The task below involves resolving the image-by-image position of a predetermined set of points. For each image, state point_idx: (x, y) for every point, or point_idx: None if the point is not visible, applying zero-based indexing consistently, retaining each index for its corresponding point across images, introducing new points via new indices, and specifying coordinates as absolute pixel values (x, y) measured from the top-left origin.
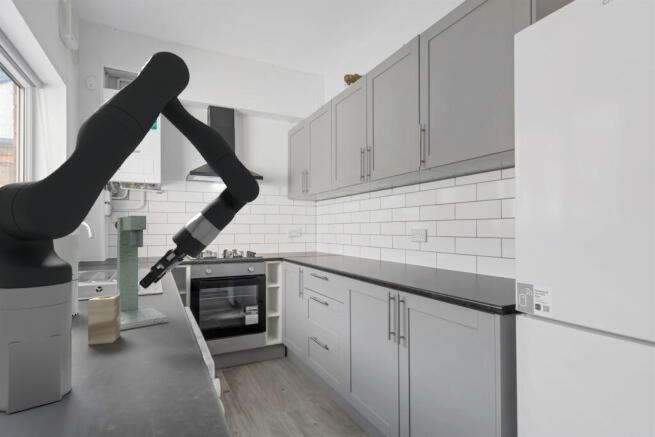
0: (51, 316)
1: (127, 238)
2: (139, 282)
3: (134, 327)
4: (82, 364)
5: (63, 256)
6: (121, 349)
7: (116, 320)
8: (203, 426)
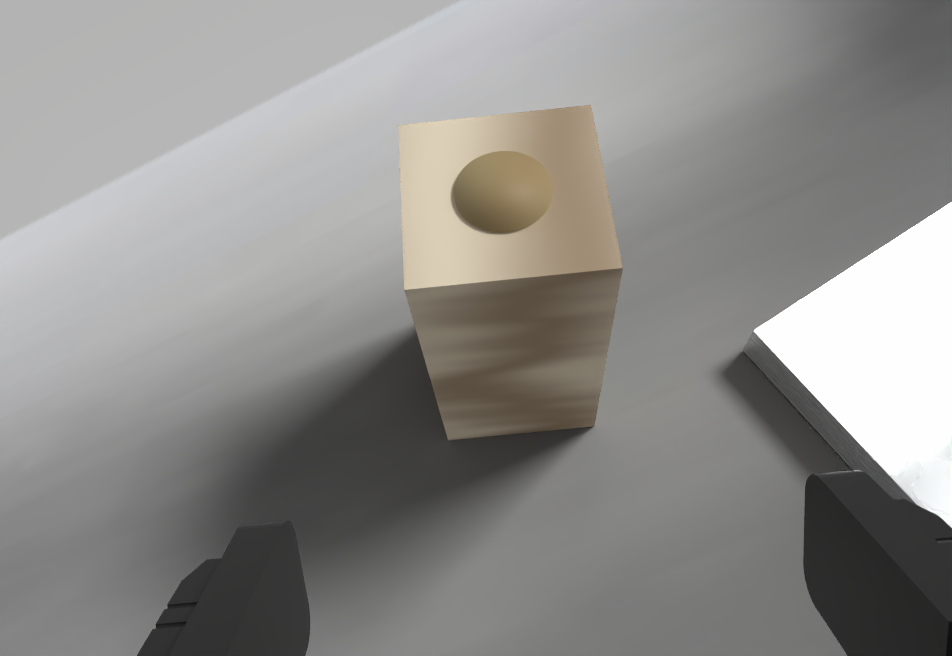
0: None
1: None
2: (245, 528)
3: (818, 432)
4: (68, 458)
5: None
6: None
7: (514, 379)
8: None
